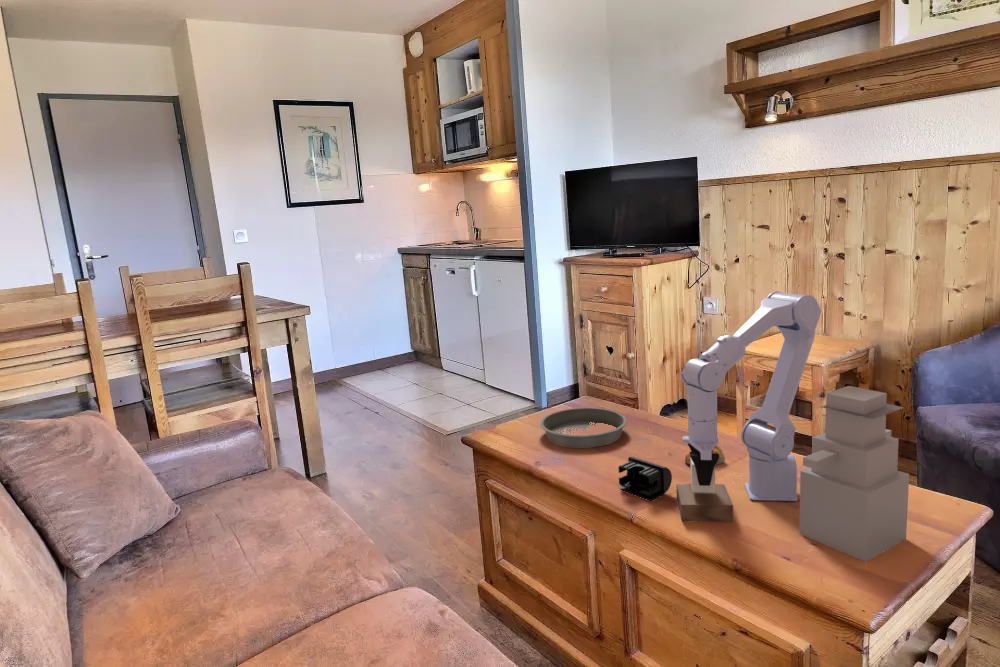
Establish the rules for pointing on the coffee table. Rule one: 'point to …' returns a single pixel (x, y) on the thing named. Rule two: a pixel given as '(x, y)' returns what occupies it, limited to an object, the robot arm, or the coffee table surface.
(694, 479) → the white block
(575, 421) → the cake pan
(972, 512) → the coffee table surface
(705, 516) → the walnut base
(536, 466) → the coffee table surface
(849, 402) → the three tier block tower
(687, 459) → the pastry
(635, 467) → the end cap
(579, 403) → the coffee table surface
